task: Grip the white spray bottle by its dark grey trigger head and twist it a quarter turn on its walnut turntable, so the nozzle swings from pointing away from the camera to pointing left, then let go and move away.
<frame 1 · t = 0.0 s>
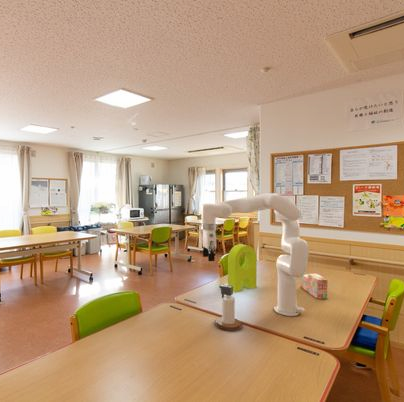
hand: (208, 258, 155), 31 cm above the table, tool pointing down, fingers open, 9 cm apart
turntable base: (228, 325, 146), on the table
pink patterned box: (313, 293, 190), on the table
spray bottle: (228, 304, 145), point 10 cm above the table, hinge at 0.0°
decorative object: (242, 288, 200), on the table
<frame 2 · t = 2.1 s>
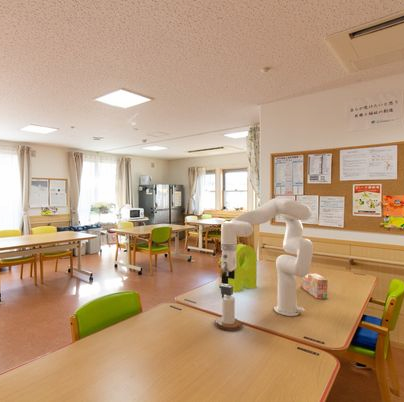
hand: (228, 281, 145), 22 cm above the table, tool pointing down, fingers open, 9 cm apart
nothing on the table moved.
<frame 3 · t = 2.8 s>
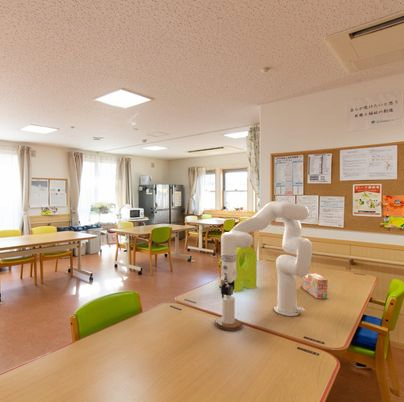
hand: (228, 291, 145), 17 cm above the table, tool pointing down, fingers open, 9 cm apart
nothing on the table moved.
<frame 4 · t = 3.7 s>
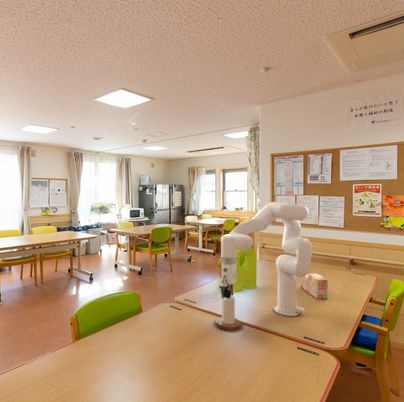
hand: (228, 295, 145), 15 cm above the table, tool pointing down, fingers closed on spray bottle, 3 cm apart
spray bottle: (228, 304, 145), point 10 cm above the table, hinge at 0.0°, touching gripper
everything else where it was.
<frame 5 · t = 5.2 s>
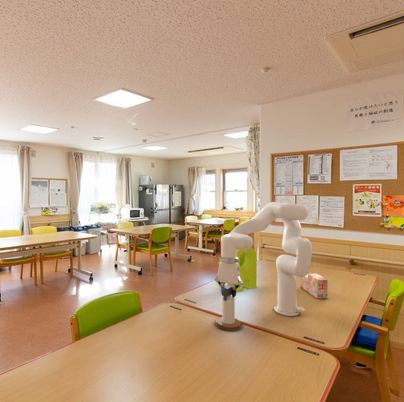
hand: (228, 295, 145), 15 cm above the table, tool pointing down, fingers closed on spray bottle, 4 cm apart
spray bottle: (228, 304, 145), point 10 cm above the table, hinge at 73.4°, touching gripper
everything else where it was.
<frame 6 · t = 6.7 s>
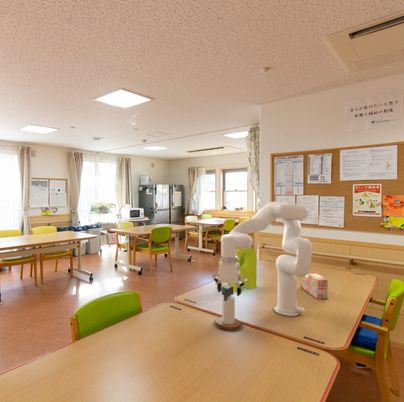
hand: (229, 293, 145), 16 cm above the table, tool pointing down, fingers open, 9 cm apart
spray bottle: (228, 304, 145), point 10 cm above the table, hinge at 77.8°
everything else where it was.
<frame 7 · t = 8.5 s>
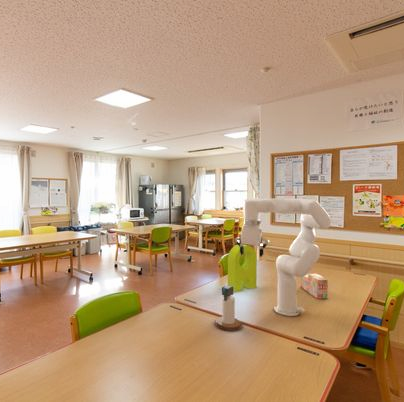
hand: (251, 255, 152), 34 cm above the table, tool pointing down, fingers open, 9 cm apart
nothing on the table moved.
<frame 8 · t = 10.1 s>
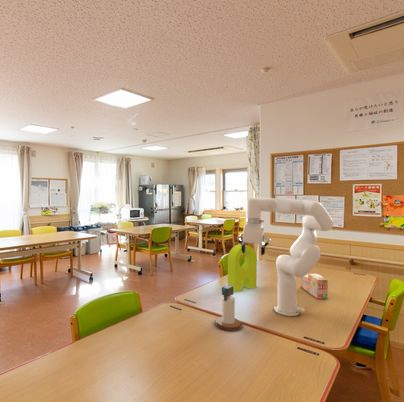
hand: (253, 253, 153), 34 cm above the table, tool pointing down, fingers open, 9 cm apart
nothing on the table moved.
at the end: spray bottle at +78° (first picture: +0°); the gripper is holding nothing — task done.
